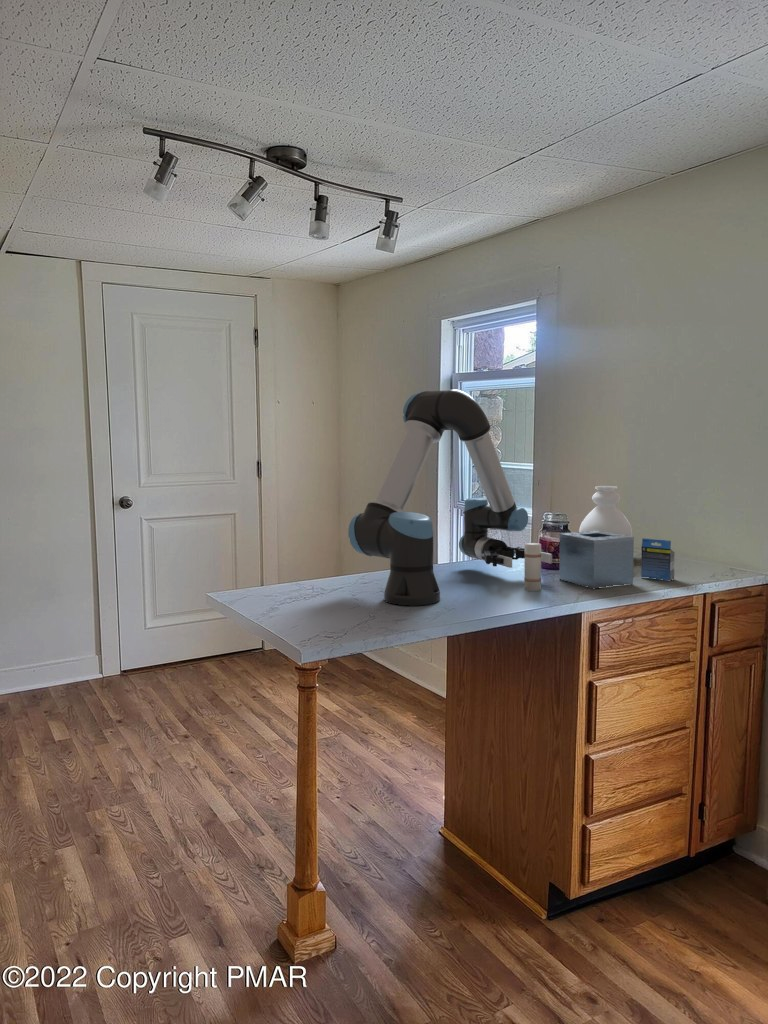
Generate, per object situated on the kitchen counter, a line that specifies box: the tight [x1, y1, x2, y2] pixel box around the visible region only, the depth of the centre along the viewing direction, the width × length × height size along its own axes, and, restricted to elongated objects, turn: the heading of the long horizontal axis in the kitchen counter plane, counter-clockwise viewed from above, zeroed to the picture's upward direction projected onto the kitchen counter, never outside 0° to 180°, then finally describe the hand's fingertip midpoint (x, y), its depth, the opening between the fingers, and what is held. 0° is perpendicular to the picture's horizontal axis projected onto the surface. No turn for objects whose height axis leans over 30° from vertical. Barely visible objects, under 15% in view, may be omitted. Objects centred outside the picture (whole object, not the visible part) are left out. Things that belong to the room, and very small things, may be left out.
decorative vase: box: [578, 485, 633, 537], centre depth 258 cm, size 18×18×25 cm
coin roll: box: [523, 542, 542, 592], centre depth 209 cm, size 5×5×13 cm
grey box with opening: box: [558, 530, 635, 588], centre depth 217 cm, size 14×16×14 cm
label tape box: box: [640, 537, 675, 582], centre depth 220 cm, size 9×4×12 cm, turn 50°
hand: (531, 560), depth 211 cm, fingers open, 13 cm apart
